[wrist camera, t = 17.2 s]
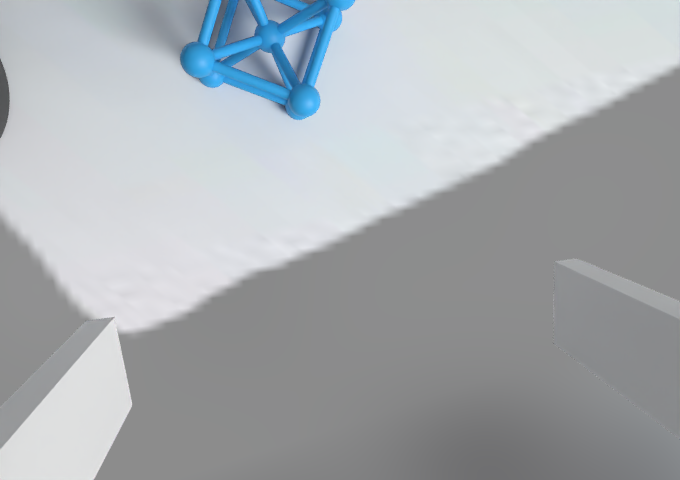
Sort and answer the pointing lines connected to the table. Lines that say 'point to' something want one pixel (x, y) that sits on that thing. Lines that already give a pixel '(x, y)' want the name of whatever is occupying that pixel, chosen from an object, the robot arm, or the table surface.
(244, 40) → the molecular structure
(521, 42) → the table surface
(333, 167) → the table surface
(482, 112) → the table surface
